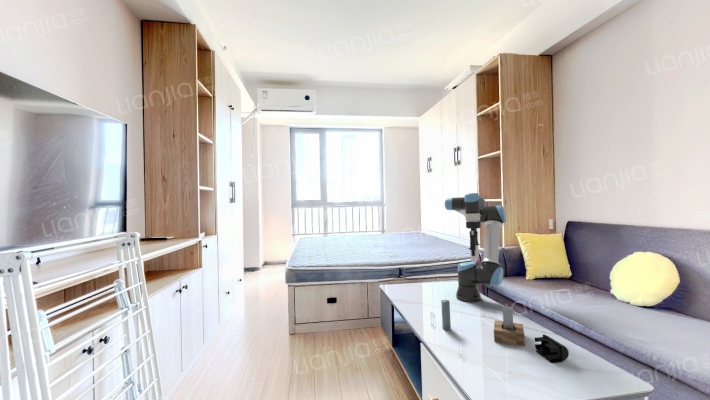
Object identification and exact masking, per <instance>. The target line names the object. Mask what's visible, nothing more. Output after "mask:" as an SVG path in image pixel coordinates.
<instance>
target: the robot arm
mask: <svg viewBox="0 0 710 400" xmlns="http://www.w3.org/2000/svg"><path fill="white" fill-rule="evenodd" d="M444 208H445V210H447V211H454V212H457V213H459V214H461V215H462V216H464V218H465V228H466V229H470V230H469V238H470V239H469V248H468V249H469V250H470V261H467V262H466V261H465V262H460V263H459V264H458V265H457V282H458V284H457V285H458V286H457V290H456V294H455V296H456V298H455V299H457V300H459V301H462V302H465V303H466V302H468V303H476V302H480V301H481V300H482V296H481V293H480V290H479V288H478V285H484V286H485V285H486V286H491V287H493V286H494V287H495V286H496V287H498V286H500V285H501V284H502V282H503V279H504V268H503V267H501V264H500V263H499V254H500V253H499V252H500V235H501V228H502V227H503V226H504V224H505V223H506V222H507V218H506V217H507V216H506V211H505V208H504V206H502V205H486V199H485V198H484V197H482V196H480V194H479V193H478V192H470V193H465V194H464V197H463V196H462V197H461V196H460V197H447V198H446V199H445V201H444ZM481 223H482V224H483V225H484V226H485V233H484V235H485V236H484V246H483V247H484V248H483V250H484V251H483V260H481V261H480V264H477V262H478V261H477V260H478V259H477V258H479V257H480V256H479V253H480V252H479V246H480V243H479V238H478V237H479V235H478V233H479V231H478V229H481V227H482V226H481V225H482V224H481Z"/></svg>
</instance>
